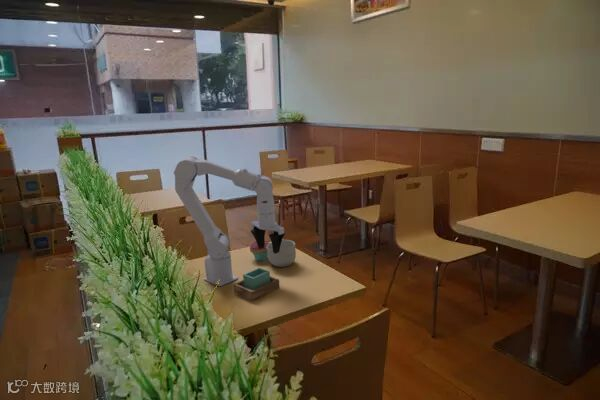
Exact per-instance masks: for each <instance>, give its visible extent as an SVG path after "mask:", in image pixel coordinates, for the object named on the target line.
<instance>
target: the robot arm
mask: <svg viewBox="0 0 600 400" xmlns="http://www.w3.org/2000/svg"><path fill="white" fill-rule="evenodd" d="M208 174H209V175H212V176H216V177H219V178H222V179H226V180H228V181H229V180H230V181H232V183H233V185H234V186H236V187H239V188H242V189H245V190H248V191H251V192H255V193H256V206H257V207H256V209H257V220H258V221H257V220H253V221H251V222H250V223H251V224H250V225H251V228H252V229H251V230H250V233H251V234H252V236H253V237H254V239H255V240H254V241H256V242H257V245H258V248H259V249H262V248H264V246H265V241H266V240H265V235H266V231H268V232H272V233H270V234H268V236H269V239H270V243H271V242H272V247H273V252H274V253H275V254H276V253H278V252H279V251H280V246H281V242H282V239H284V237H285V235H286V233H285V228H284V227H283V226H280V225H279V224H278V221H277V222H276V214H275V213H276V211H275V200H274V193H273V190H274V184H273V180H272V179H271V178H270V177H269V176H267V175H262V174H261V173H258V174H257V173H253V172H251V171H248V169H247V168H245V167H244V168H243V169H242V168H239V169H237V170H232V169H230V168H227V167H225V166H222V165H219V164H217V163H215V162H212V161H209V160H207V159H204V158H198V157H195V156H188V157H186V158H185V159H183V160H180V161H179V162H178V163H177V164H176V166H175V169H174V171H173V175H174V189H175V190H174V191H175V193H176V194H177V196H178V197H179V199H180V200H181V202H182V203H183V206H184V207H185V208H186V210H187V211H188V214H189V215H190V216H191V218H192V219H193V221H194V223H195V224H196V226H197V228H198V230H199V231H200V233H201V234H202V235H203V240H204V242H203V243H204V244H205V246H206V247H207V248H206V249H207V251H206V252H207V256H206V257H205V259H204V267H205V271H204V272H205V277H204V278H203V279H204V280H205V281H207V282H209V283H211V284H213V285H216V283H217V281H218V280H219V279H220V281H219V284H218V285H216V286H218V287H222V286H225V285H226V284H229V283H231V282H234V281H236V280H238V279H239V277H238V276H236V275H233V269H232V255H231V252H230V251H229V249H228V248H229V246H230V245H231V240H230V238H229V236H228V235H227V234H225V233H224V232H222V230H221V229H220V228H219V227H218V226H217V225H216V224H215V222H214V221H213V219H212V217H211V216H210V213H208V211H207V209H206V208H205V206H204V204H203V203H202V201H201V199H200V198H199V196H198V195H197V193H196V191H195V190H194V189H193V186H194V182H195V180H196V177H197V176H198V177H199V176H204V175H208Z"/></svg>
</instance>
